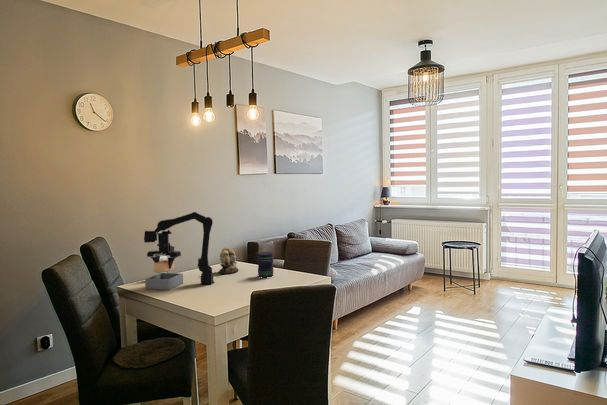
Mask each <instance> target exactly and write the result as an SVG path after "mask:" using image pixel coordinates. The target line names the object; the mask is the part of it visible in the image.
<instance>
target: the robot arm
mask: <svg viewBox="0 0 607 405" xmlns="http://www.w3.org/2000/svg"><path fill="white" fill-rule="evenodd" d="M191 220H192V221H193V220H195V221H197V222H199V223H201V224H202V229H203V236H202V237H203V238H202V247H201V256H200V257H198V258H197V265H196V266H197V267H198V270H199V272H201V274H200V275H201V276H200V282H199V285H205V286H206V285H207V286H208V285H209V286H210V285H213V284H215V281H214V272H213V267H211V266H210V264H209V247H210V246H209V244H210V234H211V230H212V226H213V218H212V217H210V216H205V215H202V214H201V213H199V212H197V211H193V212H190V213H187V214H184V215H181V216H177V217H174V218H167V219H162V220H160V221H158V222H157V225H156V226H157V227H156V228H155V229H154V230H145V231H144V237H143V241H144V243H145V244H146V243H147V244H148V243H156V241H158V243H157V244H156V246H157V247H158V250H149V251H148V252H146V257H149V258H150V259H152V261H153V263H154V262H155V263H156V262H159V258H160V256H167V260H168V263H169V269H171V267H172V264H173V261H174V262H175V259H176V258H178V257H181V256H182V252H181V251H180V250H175V248H176V247H175V246H172V245H171V242H170V241H169V239H170V238H169V237H170V236H169V235H172V234H173V232H172V231H171V230H170V229H171V228H172V227H174V226H175V225H179V224H182V223H186V222H189V221H191Z"/></svg>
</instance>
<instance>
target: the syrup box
mask: <svg viewBox="0 0 607 405" xmlns="http://www.w3.org/2000/svg"><path fill="white" fill-rule="evenodd" d="M159 256H160V258H159V261H162V260H168V255H159ZM154 263H155V262H154V261H153V264H154ZM159 273H169V271H168V272H154V275H157V274H159Z"/></svg>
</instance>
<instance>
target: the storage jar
mask: <svg viewBox="0 0 607 405" xmlns="http://www.w3.org/2000/svg"><path fill="white" fill-rule="evenodd" d="M257 263H258V264H257V265H258V266H257V278H259V277H262V278H261V279H268V278H267V277H272V276H273V277H274V252H270V251H263V252H262V251H261V252H257ZM273 277H272V278H273Z"/></svg>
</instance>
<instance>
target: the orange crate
mask: <svg viewBox="0 0 607 405" xmlns="http://www.w3.org/2000/svg"><path fill="white" fill-rule="evenodd" d="M172 270H175V260H174V261H173V264H172V267H171V269H169V263H168V259H167V260H162V261H159V262H156V263H154V262H153V272H154V273H155V272H168V273H169V271H172Z"/></svg>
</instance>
